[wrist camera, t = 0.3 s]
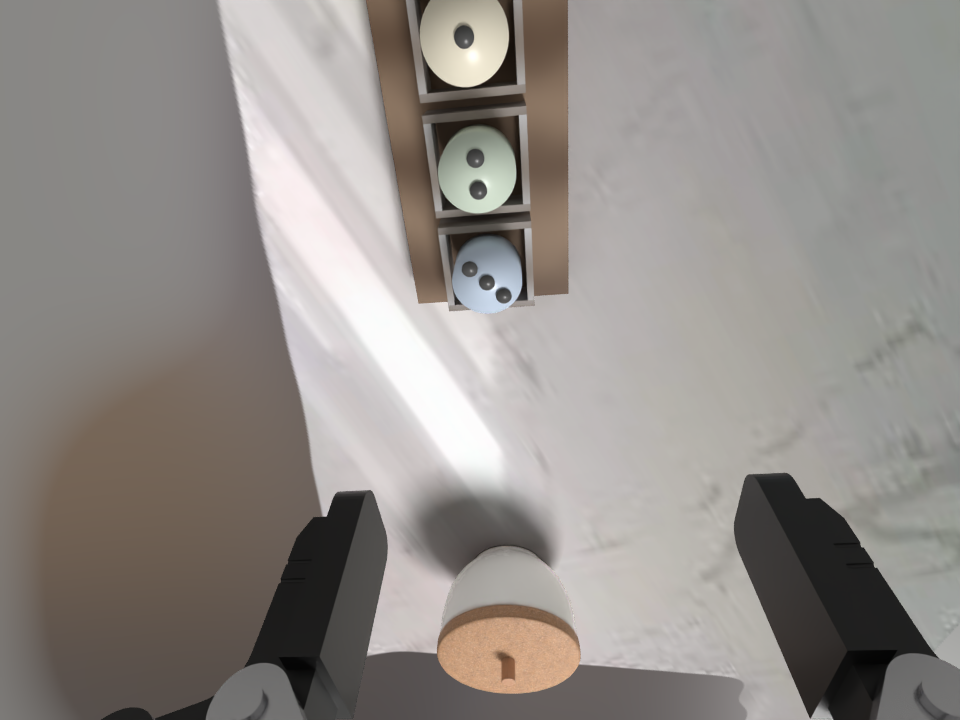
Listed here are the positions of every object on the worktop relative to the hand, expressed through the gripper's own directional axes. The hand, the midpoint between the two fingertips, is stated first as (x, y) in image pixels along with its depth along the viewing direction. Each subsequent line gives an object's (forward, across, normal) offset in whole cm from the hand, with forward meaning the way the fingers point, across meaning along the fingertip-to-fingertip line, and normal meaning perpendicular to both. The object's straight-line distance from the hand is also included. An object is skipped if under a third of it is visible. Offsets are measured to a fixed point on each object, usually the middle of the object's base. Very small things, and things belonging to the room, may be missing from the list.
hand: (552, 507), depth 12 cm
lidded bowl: (+25, +4, +38) cm, 46 cm away
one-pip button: (+22, +2, -8) cm, 24 cm away
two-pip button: (+22, +2, -2) cm, 22 cm away
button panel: (+26, +2, -2) cm, 26 cm away
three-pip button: (+22, +2, +4) cm, 22 cm away
